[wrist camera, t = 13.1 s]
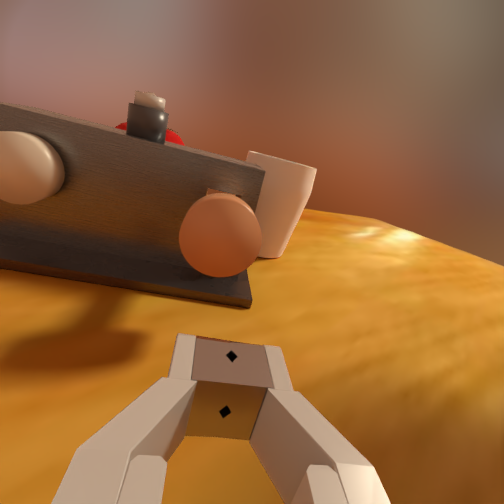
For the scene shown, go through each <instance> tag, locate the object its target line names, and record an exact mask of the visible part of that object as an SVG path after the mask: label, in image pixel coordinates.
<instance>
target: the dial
mask: <svg viewBox="0 0 504 504" xmlns="http://www.w3.org/2000/svg"><path fill="white" fill-rule="evenodd" d="M165 101H166V100H165V99H163V98H160V97H157V96H155V93H150V92H144V93H143V92H139V91H136V92H135V101H134V104H133V103H129V107H128V118H127V129H126V134H129V135H132V136H135V137H139V138H143V139H147V140H151V141H156V142H162V143H165V138H166V130H167V123H168V115H169V114H168V113H165V112H164V108H165Z"/></svg>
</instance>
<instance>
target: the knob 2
mask: <svg viewBox="0 0 504 504" xmlns="http://www.w3.org/2000/svg"><path fill="white" fill-rule="evenodd" d="M179 244H180V249H181V252H182V254H183V256H184V258H185V259H186V261H187V262H188V263H189V264H190V265H191V266H192V267H193V268H194V269H196V270H197V271H199V272H201V273H203V274H205V275H208V276H212V277H229V276H233V275H236V274H238V273H240V272H242V271H244V270H245V269H247V268H248V267H249V266H250V265H251V264H252V263H253V262H254V261H255V259H256V258H257V256H258V254H259V251H260V249H261V244H262V233H261V229H260V226H259V223H258V221H257V218H256V216H255V214H254V212H253V210H252V209H251V208H250V206H249V205H248V204H247V203H246V202H244V201H243V200H242V199H240V198H238V197H236V196H234V195H230V194H226V193H215V194H210V195H207V196H204V197H202V198H200V199H199V200H197V201H196V202H195V203H194V204H193V205H192V206H191V207H190V209H189V210H188V212H187V213H186V216H185V218H184V220H183V222H182V225H181V228H180V232H179Z"/></svg>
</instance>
